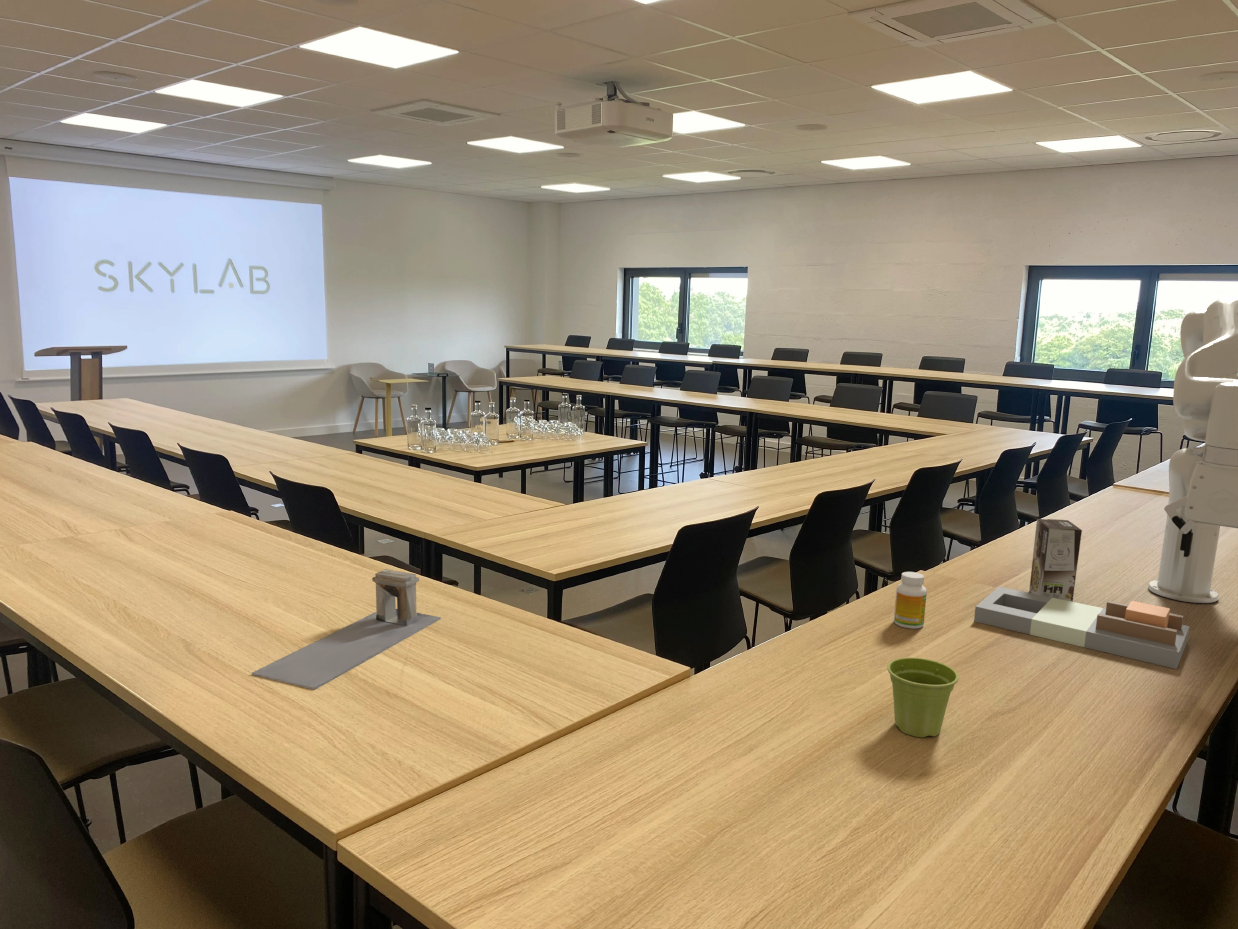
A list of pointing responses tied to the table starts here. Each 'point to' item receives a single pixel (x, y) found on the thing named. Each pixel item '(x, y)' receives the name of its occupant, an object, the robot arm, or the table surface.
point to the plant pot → (920, 694)
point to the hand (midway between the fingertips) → (1214, 559)
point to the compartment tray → (1085, 625)
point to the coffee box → (1055, 559)
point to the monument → (356, 636)
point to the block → (1147, 614)
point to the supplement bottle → (910, 601)
